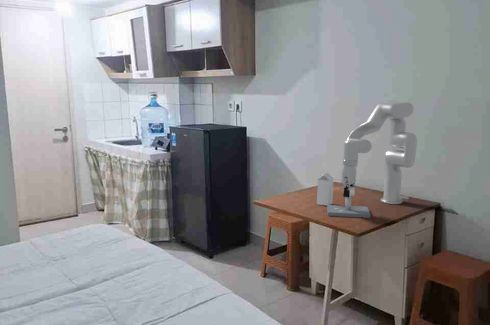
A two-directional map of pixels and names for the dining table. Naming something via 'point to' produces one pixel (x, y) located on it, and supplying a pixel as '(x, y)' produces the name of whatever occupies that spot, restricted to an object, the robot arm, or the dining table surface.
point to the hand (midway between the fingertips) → (348, 195)
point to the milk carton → (325, 190)
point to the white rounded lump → (351, 191)
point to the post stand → (348, 210)
